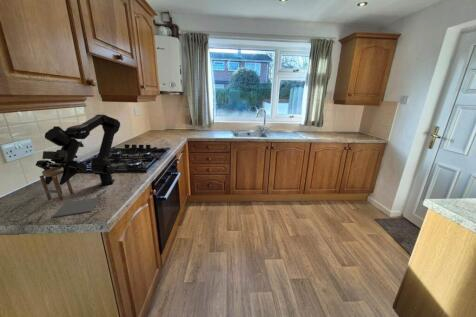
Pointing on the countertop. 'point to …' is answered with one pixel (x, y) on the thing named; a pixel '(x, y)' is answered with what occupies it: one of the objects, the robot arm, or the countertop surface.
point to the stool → (54, 173)
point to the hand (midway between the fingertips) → (53, 184)
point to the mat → (76, 207)
